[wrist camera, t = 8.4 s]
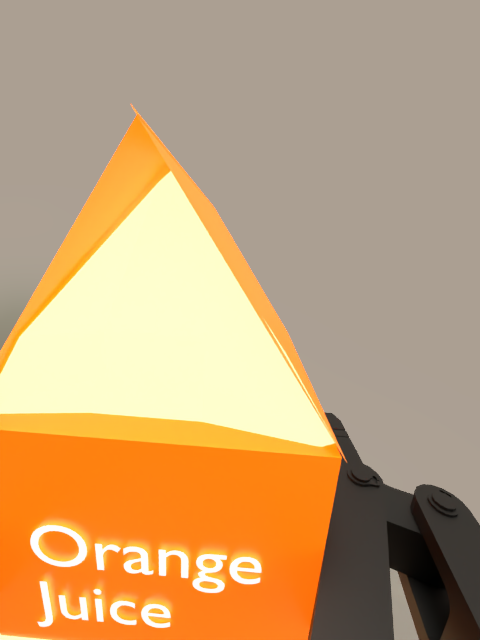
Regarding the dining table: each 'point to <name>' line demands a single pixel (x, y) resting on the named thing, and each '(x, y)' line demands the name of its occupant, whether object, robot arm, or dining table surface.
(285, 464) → the orange juice
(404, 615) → the dining table surface
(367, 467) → the robot arm
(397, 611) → the dining table surface
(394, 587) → the dining table surface
